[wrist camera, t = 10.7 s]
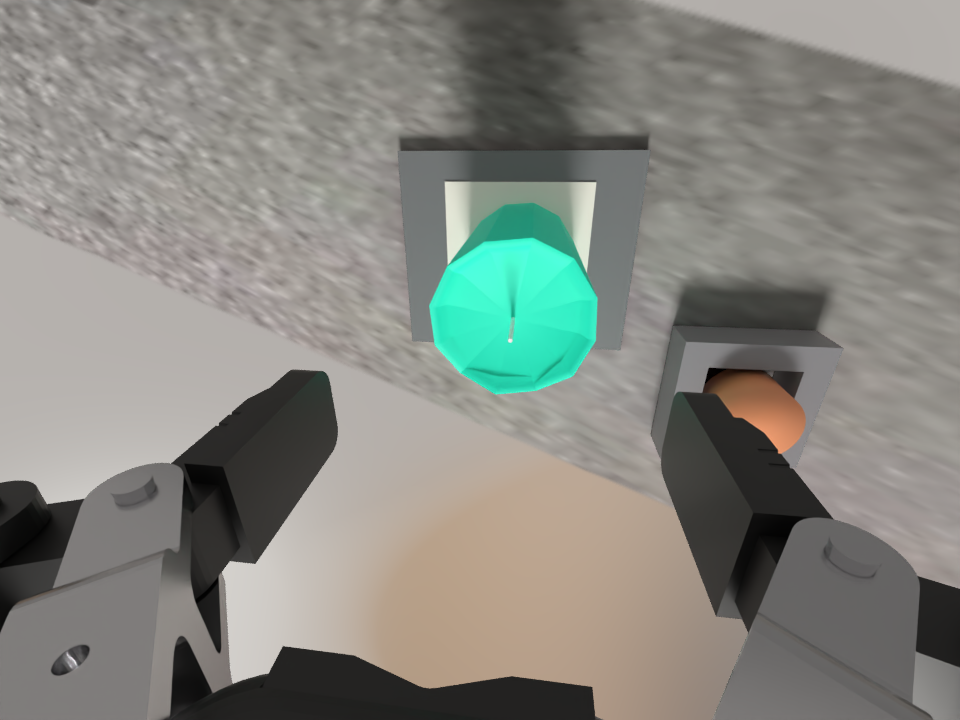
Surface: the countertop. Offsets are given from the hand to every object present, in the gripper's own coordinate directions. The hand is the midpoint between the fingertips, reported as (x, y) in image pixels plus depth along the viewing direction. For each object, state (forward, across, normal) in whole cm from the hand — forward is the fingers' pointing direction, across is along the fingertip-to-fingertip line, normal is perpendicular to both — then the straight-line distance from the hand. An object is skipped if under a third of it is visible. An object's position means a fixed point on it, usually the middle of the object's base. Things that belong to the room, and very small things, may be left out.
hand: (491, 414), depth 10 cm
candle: (+16, 0, 0) cm, 16 cm away
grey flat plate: (+17, 0, 0) cm, 17 cm away
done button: (+16, -13, +8) cm, 22 cm away
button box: (+17, -13, +8) cm, 23 cm away
